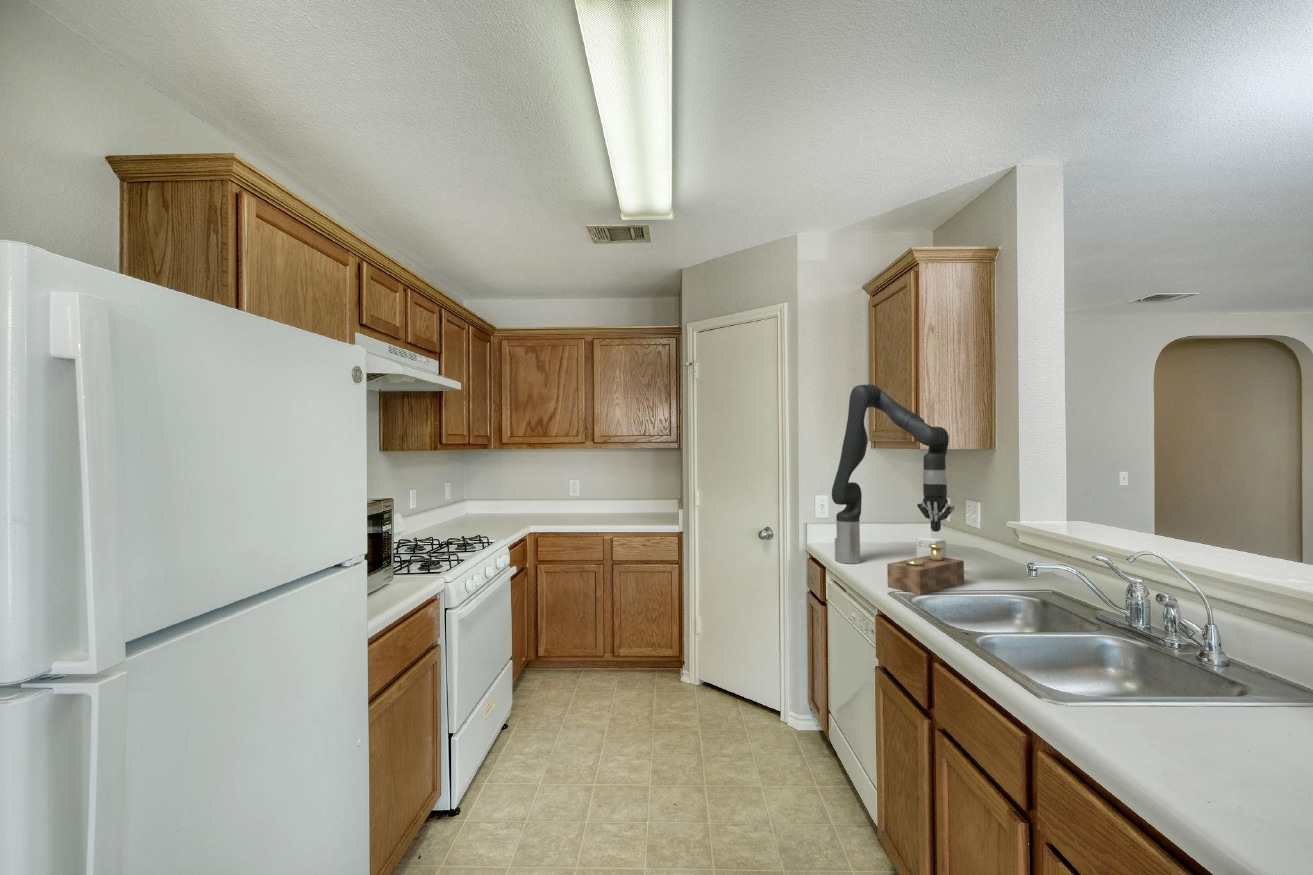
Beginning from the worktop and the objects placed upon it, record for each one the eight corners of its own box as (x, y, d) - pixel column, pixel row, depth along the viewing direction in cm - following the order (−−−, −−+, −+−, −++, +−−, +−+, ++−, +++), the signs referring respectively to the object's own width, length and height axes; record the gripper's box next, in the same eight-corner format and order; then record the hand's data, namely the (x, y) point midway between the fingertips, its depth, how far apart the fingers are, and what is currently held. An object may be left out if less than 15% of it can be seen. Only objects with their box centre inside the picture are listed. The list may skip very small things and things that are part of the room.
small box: (946, 574, 204) (946, 539, 205) (936, 576, 201) (935, 541, 201) (926, 570, 211) (926, 536, 212) (916, 572, 208) (915, 538, 208)
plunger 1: (903, 585, 187) (903, 560, 187) (912, 583, 189) (912, 559, 189) (917, 588, 182) (917, 563, 182) (926, 586, 185) (925, 561, 185)
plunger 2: (925, 568, 193) (925, 544, 194) (934, 566, 196) (933, 542, 196) (939, 570, 189) (939, 546, 189) (947, 568, 192) (947, 545, 192)
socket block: (887, 586, 187) (887, 563, 188) (931, 576, 201) (931, 555, 201) (920, 594, 177) (919, 570, 177) (964, 583, 191) (963, 560, 191)
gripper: (911, 482, 197) (912, 530, 196) (946, 483, 186) (948, 534, 185) (923, 481, 201) (924, 528, 200) (959, 483, 189) (960, 532, 189)
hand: (935, 531), depth 193 cm, fingers closed
